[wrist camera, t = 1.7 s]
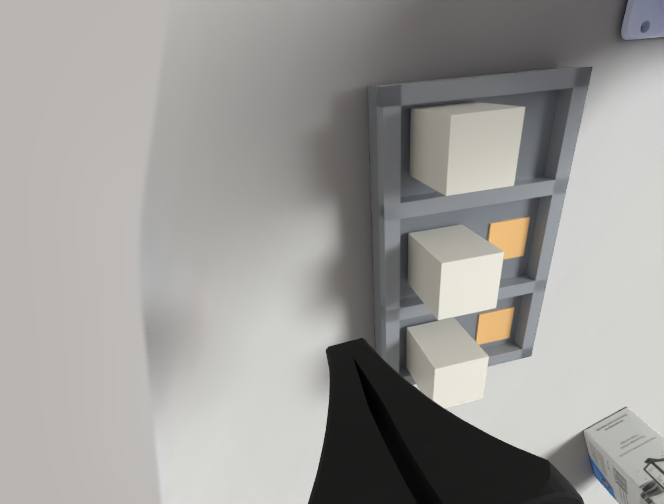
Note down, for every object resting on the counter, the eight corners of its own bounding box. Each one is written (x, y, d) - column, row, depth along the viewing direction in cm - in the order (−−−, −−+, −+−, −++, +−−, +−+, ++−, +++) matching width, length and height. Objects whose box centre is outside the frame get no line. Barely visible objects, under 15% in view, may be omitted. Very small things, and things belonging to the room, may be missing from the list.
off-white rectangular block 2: (454, 317, 22) (488, 356, 19) (450, 356, 23) (482, 398, 20) (406, 327, 22) (435, 369, 18) (406, 366, 23) (432, 411, 20)
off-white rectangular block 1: (472, 101, 17) (525, 106, 14) (466, 167, 18) (514, 185, 15) (410, 108, 16) (451, 115, 13) (409, 175, 18) (446, 195, 14)
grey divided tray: (558, 68, 18) (592, 67, 17) (511, 337, 26) (531, 356, 24) (367, 85, 17) (382, 86, 15) (375, 368, 24) (386, 390, 22)
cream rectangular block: (462, 224, 19) (504, 252, 16) (457, 273, 21) (496, 308, 18) (408, 233, 19) (441, 263, 16) (407, 283, 20) (438, 320, 17)
